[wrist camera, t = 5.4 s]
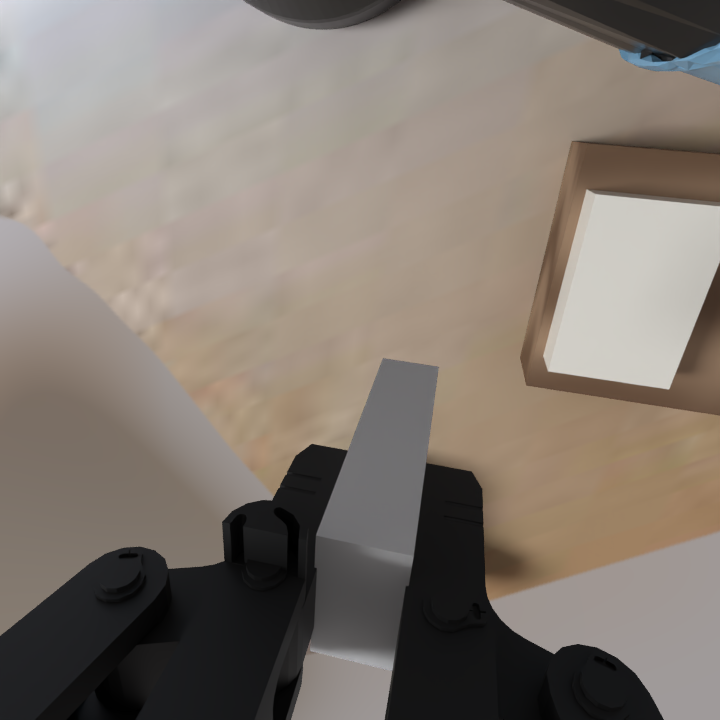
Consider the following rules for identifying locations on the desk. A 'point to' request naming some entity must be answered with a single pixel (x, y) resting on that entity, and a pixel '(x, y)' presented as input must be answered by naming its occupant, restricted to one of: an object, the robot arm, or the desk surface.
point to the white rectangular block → (633, 287)
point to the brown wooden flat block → (583, 171)
